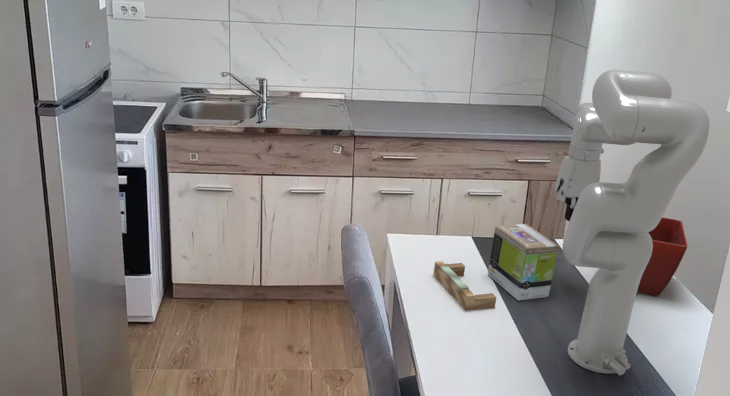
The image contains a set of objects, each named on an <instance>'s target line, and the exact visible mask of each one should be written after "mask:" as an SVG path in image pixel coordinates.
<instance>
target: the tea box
mask: <svg viewBox="0 0 730 396" xmlns="http://www.w3.org/2000/svg"><path fill="white" fill-rule="evenodd" d="M492 239H493V240H492V245H491V252H490V260H489V263H488V264H489V265H488V272H487V275H488V276H489V277H490V278H491V279H493V281H495V282H496V283H497V284H498V285H499V286H500V287H501V288H502V289H504V290H505V291H506V292H507V293H508V294H510V295H511V296H512V297H513V298H515V300H517V301H527V300H534V299H541V298H542V299H543V298H548V297H549V296H550V291H551V285H552V281H553V277H554V271H555V266H556V262H557V261H556V260H557V256H558V252H559V251H558V250H559V244H557V242H554V241H553V240H552V239H550V238H548V237H547V236H545V235H544V234H542V233H541V232H539V231H538V230H536V229H534V228H533V227H531V226H530V225H529V224H527V223H517V224H506V225H505V224H503V225H495V227H494V233H493V238H492Z"/></svg>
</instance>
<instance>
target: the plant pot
mask: <svg viewBox="0 0 730 396" xmlns="http://www.w3.org/2000/svg"><path fill="white" fill-rule="evenodd" d="M648 233H649V234H650V236H651V238H652V242H653V250H652V254H651V257H650V260H649V262H648V264H647V266H646V268H645V270H644V272H643V275H642V277H641V280H640V283H639V286H638V290H637V293H641V294H645V295H650V296H655V297H657V296H661V294H662V293H663V291H664V290H665V289H666V287H667V286H668V285H669V283H670V281H672V278H673V277H674V275H675V273H676V271H677V270H678V268H679V267H680V265H681V264H680V263H682V260H683V258H684V255H685V253H686V252H687V248H688V247H689V246H688V242H687V238H686V234H685V229H684V225H683V222H682V220H679V219H674V218H667V217H663V216H662V218H661V220H660V222H659V223H658V225H657V226H656V227H655V229H653V230H652V231H650V232H648Z"/></svg>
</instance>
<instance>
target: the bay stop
mask: <svg viewBox="0 0 730 396" xmlns="http://www.w3.org/2000/svg"><path fill="white" fill-rule="evenodd" d="M465 270H466V265H465V264H463V262H455V263H445V262H443V261H442V260H440V261H435V262H434V268H433V277H434V278H435V279H436V280H437V281H438V282H439V283H440V285H442V286H443V288H444V290H446V291H447V292H448V293H449V294H450V296H451V297H452V296H453V297H454V298H455V299H456V300H457V301H458V302H459V303H458V302H457V301H456V300H455V299H454V298H453V297H452V298H453V299H454V300H455V301H456V302H457V303H458V304H459V305H461V306H462V307H463V308H464V309H465V310H466V311H465V310H464V309H463V308H462V307H461V306H460V307H461V308H462V309H463V310H464V311H465V312H468V311H467V310H470V311H477V309H478V311H479V309H480V310H486V309H487V310H488V309H495V308H496V304H497V303H496V301H497V296H496V295H495V294H494V293H493V292H491V293H482V294H479V293H478V294H474V293H473V292H472V291H471V290H470V288H469V286H468V285H467V283H465V282H464V281H463V280H462V278H460V277H459V276H462V277H464V276H465Z"/></svg>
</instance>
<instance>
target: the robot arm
mask: <svg viewBox="0 0 730 396" xmlns="http://www.w3.org/2000/svg"><path fill="white" fill-rule="evenodd" d="M591 92H592V94H591V101H592V102H582V103H581V104H579V105H578V107H577V110H576V114H575V117H574V118H575V119H574V124H573V130H572V134H571V139H570V144H569V149H568V155H565V156H564V158H563V160H562V162H561V165H560V168H559V171H558V173H557V178H556V182H555V187H554V191H555V192H556V193H557V195H556V197H555V198H556V200H558V201H559V202H563V203H564V205H566V207H565V213H564V219H565V220H566V221H567V222H568V224H567V226H566V230H565V233H564V235H563V236H564V237H563V241H562V254H563V257H564V260H566V261H567V262H568V263H569V264H571V265H572V266H575V267H581V268H595V269H597V271H595V273H594V275H593V276H592V277H591V279H590V281H589V284H588V288H587V294H586V298H585V301H584V302H585V303H584V307H583V312H582V316H581V321H580V326H579V331H578V334H577V338H575V339H573V340H571V341H570V342H569V343H568V346H567V354H568V356H569V358H570V359H571V360H572V361H573V362H574V363H576V365H578V366H580V367H581V368H584V369H585V370H589V371H590V372H591V371H592V372H595V373H599V374H608V375H609V374H612V375H613V374H617V375H618V376H622V375H624V374H625V372H626V371H627V370H629V369H630V368H631V364H630V363H629V362H628V357H627V355H626V352H627V351H626V350H625V349H624V345H625V342H626V336H627V332H628V329H629V324H630V320H631V315H632V312H633V309H634V304H635V301H636V297H637V294H638V292H637V290H638V286H639V283H640V280H641V277H642V275H643V272H644V270H645V268H646V266H647V264H648V262H649V260H650V257H651V254H652V250H653V242H652V238H651V236H650V234H649V233H648V232H650V231H652V230H653V229H655V227H656V226H657V225H658V223H659V222H660V220H661V218H662V217H663V216H664V215H665V212H666V210H667V208H668V207H669V204H670V203H671V200H672V198H673V197H674V194H675V193H676V191H677V189H678V187H679V185H680V184H681V182H682V181H683V180H684V178H685V177H686V176H687V175H688V174H689V172H690V171H692V169H693V168H694V167H695V165H696V164H697V163H698V161H699V159H700V158H701V156H702V155H703V152H704V151H705V148H706V145H707V142H708V139H709V138H708V137H709V133H710V119H709V115H708V113H707V111H706V109H704V108H703V107H702V106H701V105H699V104H697V103H694V102H692V101H689V100H688V101H687V100H683V99H676V98H675V99H674V98H672V95H673V94H672V93H673V91H672V86H671V85H670V82H669V81H668V80H667V79H666V78H664V77H663V76H662V75H660V74H657V73H653V72H648V71H647V72H644V71H634V70H633V71H632V70H620V69H609V70H606V71H605V72H603V73H601V74H600V75H599V76H598V77H597V79H596V80H595V82H594V84H593V87H592V91H591ZM636 143H637V144H639V143H640V144H650V145H652V144H653V145H660V146H659V147H658V148H656V149H653V151H651V152H649V153H648V154H647V155H645V156H644V157H642V158H641V159H640V160H639V161H637V163H636V164H635V165H634V167H633V168H632V171H631V173H630V176H629V177H628V180H627V181H626V182H623V183H618V182H617V183H616V182H615V183H614V182H601V181H600V179H601V173H602V172H601V171H602V166H601V164H602V161H601V159H600V158H601V154H604V153H605V151H604V148H603V144H604V145H605V144H606V145H617V146H630V145H634V144H636Z"/></svg>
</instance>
